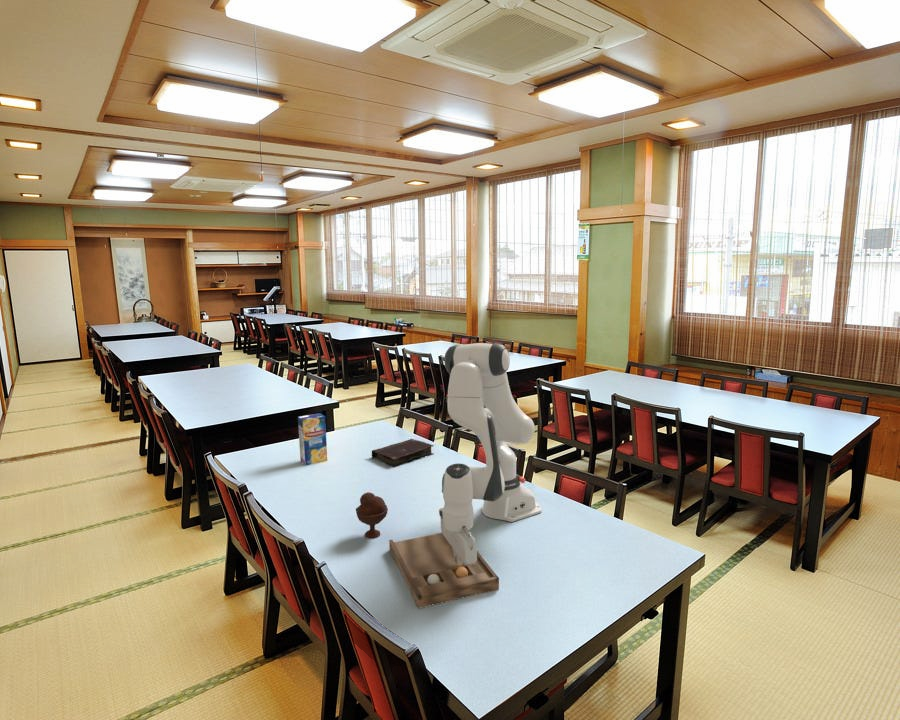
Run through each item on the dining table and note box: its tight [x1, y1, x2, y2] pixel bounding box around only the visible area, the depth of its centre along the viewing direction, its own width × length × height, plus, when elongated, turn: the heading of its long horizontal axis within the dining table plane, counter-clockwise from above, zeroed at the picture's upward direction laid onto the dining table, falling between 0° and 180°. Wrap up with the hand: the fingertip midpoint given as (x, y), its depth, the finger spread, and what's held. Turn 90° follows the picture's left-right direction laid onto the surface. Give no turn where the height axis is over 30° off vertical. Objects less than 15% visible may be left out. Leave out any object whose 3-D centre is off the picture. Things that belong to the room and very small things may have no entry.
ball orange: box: [456, 567, 469, 578], centre depth 155 cm, size 4×4×4 cm
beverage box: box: [297, 412, 328, 466], centre depth 250 cm, size 7×11×22 cm, turn 125°
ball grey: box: [427, 574, 440, 585], centre depth 152 cm, size 4×4×4 cm
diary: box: [371, 438, 435, 468], centre depth 257 cm, size 19×25×5 cm
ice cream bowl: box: [355, 492, 389, 540], centre depth 180 cm, size 11×11×15 cm
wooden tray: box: [388, 532, 500, 609], centre depth 161 cm, size 24×32×4 cm
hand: (458, 562), depth 158 cm, fingers closed
